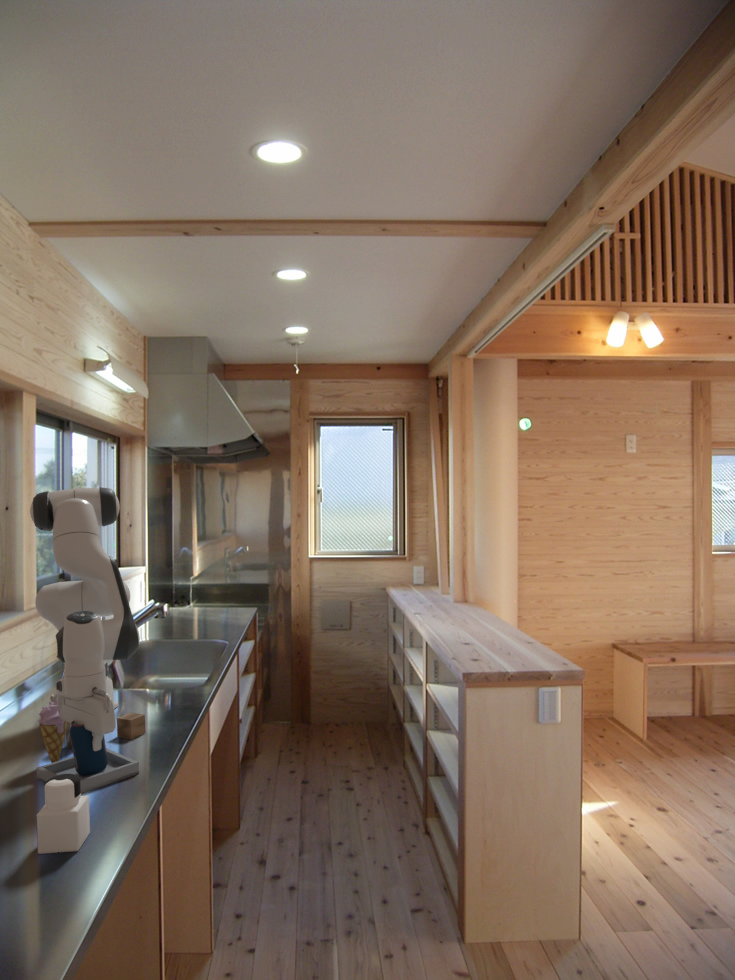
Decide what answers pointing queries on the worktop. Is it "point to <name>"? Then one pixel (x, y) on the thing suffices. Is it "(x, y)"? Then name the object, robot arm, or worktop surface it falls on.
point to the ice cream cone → (52, 730)
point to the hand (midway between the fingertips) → (87, 746)
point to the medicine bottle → (63, 816)
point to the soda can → (87, 752)
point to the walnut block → (131, 725)
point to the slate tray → (114, 771)
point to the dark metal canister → (68, 737)
